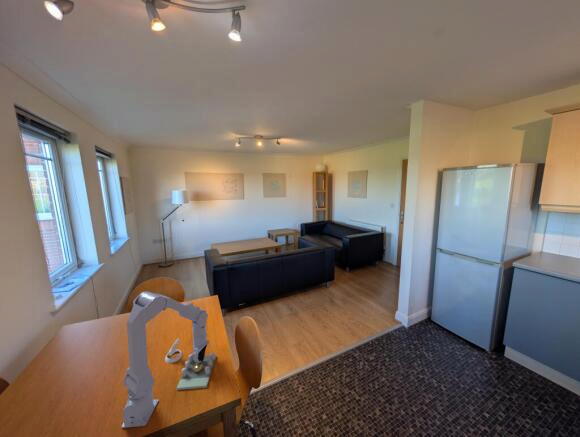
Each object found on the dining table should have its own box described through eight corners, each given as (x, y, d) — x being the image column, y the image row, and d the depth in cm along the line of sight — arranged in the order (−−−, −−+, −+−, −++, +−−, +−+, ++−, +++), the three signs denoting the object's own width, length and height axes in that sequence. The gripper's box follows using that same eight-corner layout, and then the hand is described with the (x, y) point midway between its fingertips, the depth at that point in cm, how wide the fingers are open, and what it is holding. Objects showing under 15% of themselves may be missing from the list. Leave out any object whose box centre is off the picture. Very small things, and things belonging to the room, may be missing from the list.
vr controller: (186, 353, 104) (172, 348, 102) (174, 369, 106) (160, 364, 104) (191, 339, 111) (178, 334, 109) (180, 355, 113) (167, 350, 111)
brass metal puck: (201, 373, 98) (201, 369, 97) (192, 374, 97) (191, 369, 97) (203, 365, 101) (203, 362, 101) (194, 366, 101) (194, 362, 101)
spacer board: (206, 387, 92) (205, 379, 91) (176, 390, 90) (175, 381, 90) (216, 356, 108) (215, 349, 108) (191, 358, 107) (190, 351, 107)
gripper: (203, 343, 95) (205, 371, 97) (212, 323, 110) (213, 348, 112) (187, 345, 95) (189, 373, 97) (197, 324, 109) (199, 349, 111)
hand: (201, 360), depth 104 cm, fingers closed
